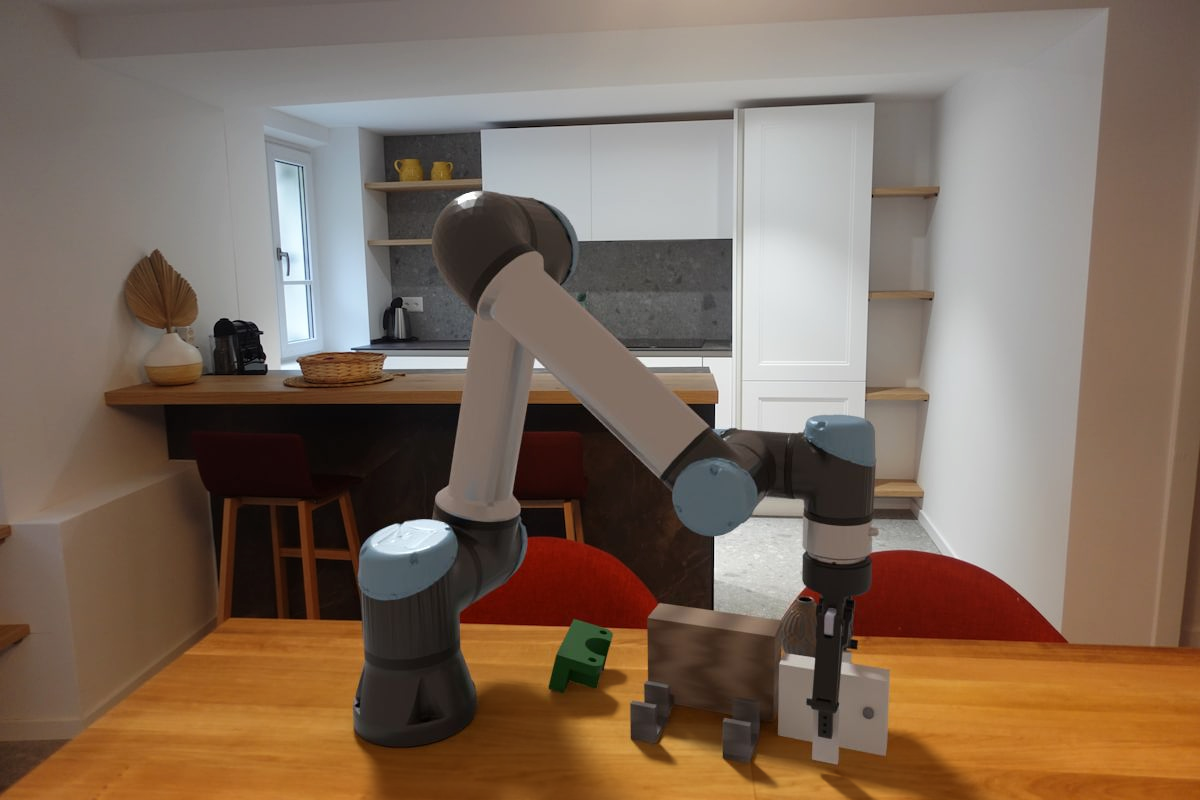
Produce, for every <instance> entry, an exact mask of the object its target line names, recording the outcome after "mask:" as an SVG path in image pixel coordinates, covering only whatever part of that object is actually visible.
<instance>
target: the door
mask: <svg viewBox="0 0 1200 800" xmlns="http://www.w3.org/2000/svg"><path fill="white" fill-rule="evenodd" d="M814 666H815V658H813V657H807V656H800V655H794V654H787V653H785V652H782V655H781V661H780V663H779V707H778V711H777V714H778V715H777V716H778V717H777V719H778V723H777V736H780V737H785V738H791V739H795V740H800V741H806V742H809V743H810V742H811V743H813V709H812V708H811V706H808V705H806V700H807V698H809V699H812V693H813V679H814ZM890 673H891V669H890V668H889V669H888V668H884V667H877V666H871V665H870V666H869V665H864V664H858V663H852V662H851V663H845V662H842V665H841V677H840V688H839V700H838V702H839V705H840V727H839V748H843V749H848V750H853V751H856V752H857V751H858V752H863V753H867V754H874V755H878V756H882V757H886V756H887V746H888V734H889V733H888V732H889V731H888V730H889V729H888V728H889V708H890V707H889V706H890V705H889V703H890V700H889V699H890V678H891V674H890Z"/></svg>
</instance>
